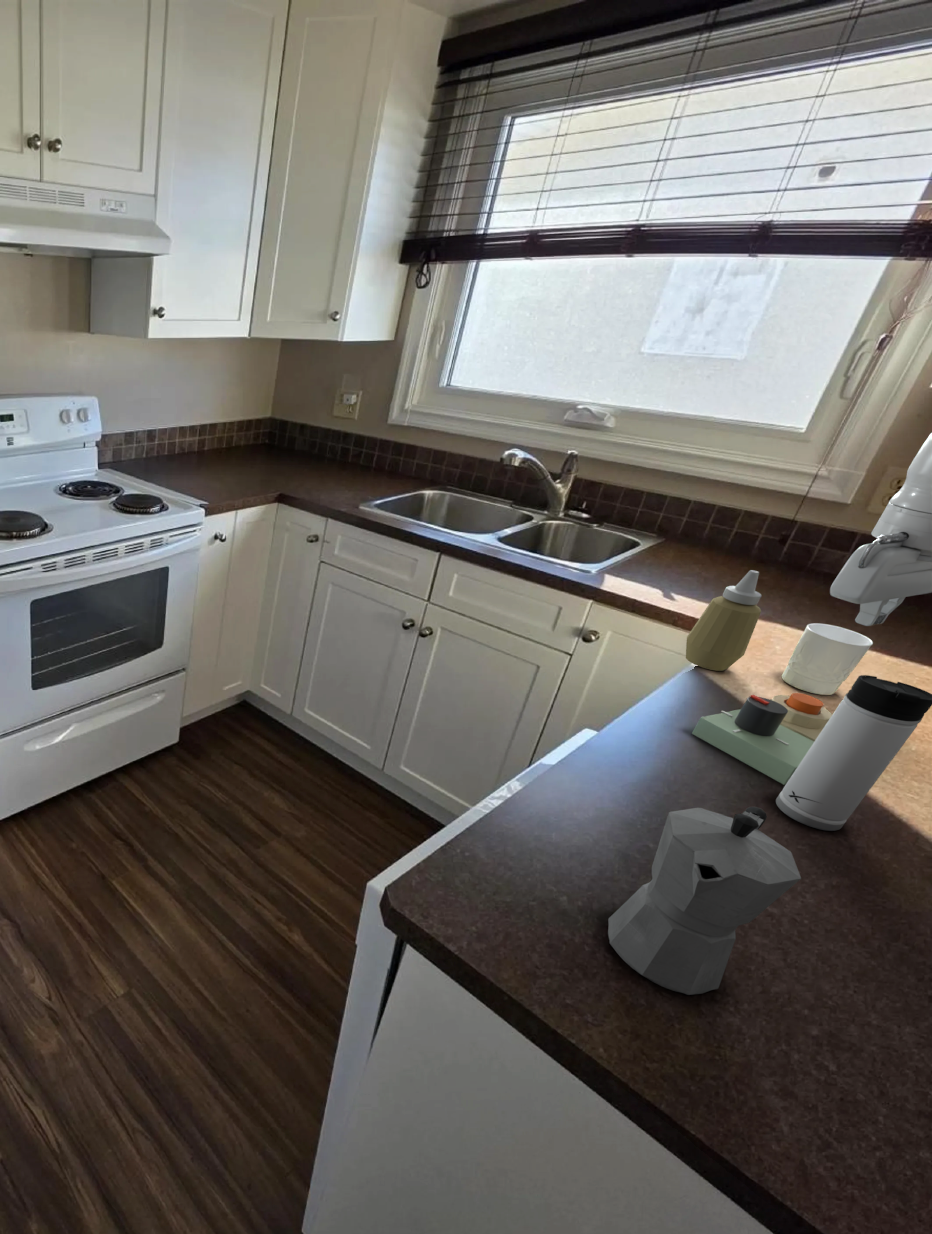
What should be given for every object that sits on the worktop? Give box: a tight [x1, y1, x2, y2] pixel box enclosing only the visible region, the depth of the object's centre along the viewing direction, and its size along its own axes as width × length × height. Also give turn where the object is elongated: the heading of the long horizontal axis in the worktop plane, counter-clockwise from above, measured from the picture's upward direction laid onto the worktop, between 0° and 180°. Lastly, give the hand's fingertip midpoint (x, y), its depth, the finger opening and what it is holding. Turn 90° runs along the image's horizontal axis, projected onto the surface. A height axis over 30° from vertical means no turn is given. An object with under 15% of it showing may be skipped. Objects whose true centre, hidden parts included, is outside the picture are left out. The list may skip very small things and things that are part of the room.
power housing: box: [769, 694, 833, 742], centre depth 102 cm, size 11×9×4 cm
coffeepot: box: [607, 806, 802, 996], centre depth 64 cm, size 15×9×18 cm, turn 125°
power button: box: [786, 692, 825, 715], centre depth 102 cm, size 4×4×2 cm
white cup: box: [781, 622, 874, 696], centre depth 114 cm, size 8×8×10 cm
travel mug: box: [775, 674, 932, 832], centre depth 82 cm, size 6×7×20 cm
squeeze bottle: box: [685, 569, 762, 672], centre depth 117 cm, size 8×8×18 cm
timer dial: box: [734, 694, 788, 736], centre depth 97 cm, size 4×4×4 cm
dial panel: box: [691, 708, 814, 786], centre depth 97 cm, size 12×10×3 cm
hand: (867, 623), depth 96 cm, fingers closed
